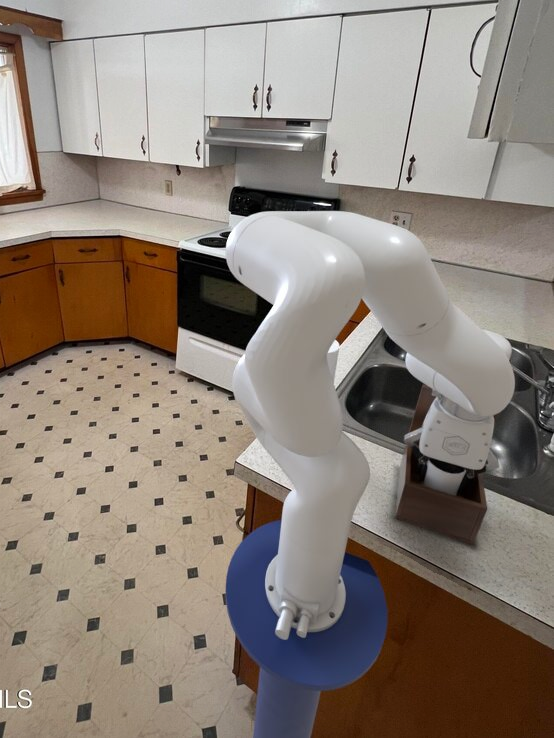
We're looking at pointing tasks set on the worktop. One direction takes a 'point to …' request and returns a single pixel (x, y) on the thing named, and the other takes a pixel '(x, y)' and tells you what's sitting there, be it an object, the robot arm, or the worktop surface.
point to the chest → (439, 503)
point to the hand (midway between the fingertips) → (439, 481)
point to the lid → (426, 408)
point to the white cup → (443, 476)
